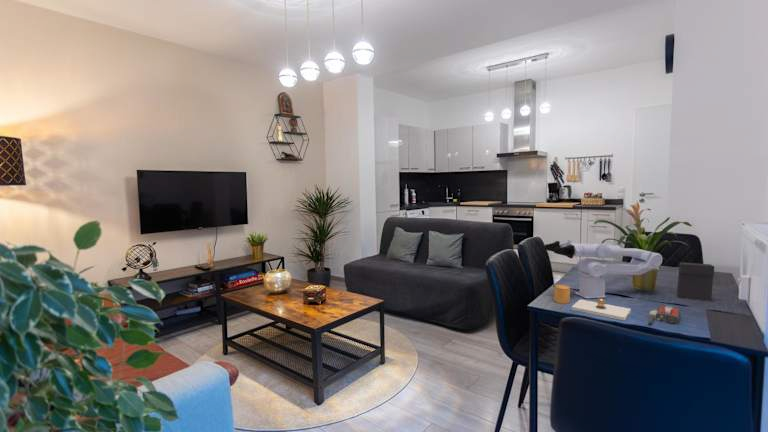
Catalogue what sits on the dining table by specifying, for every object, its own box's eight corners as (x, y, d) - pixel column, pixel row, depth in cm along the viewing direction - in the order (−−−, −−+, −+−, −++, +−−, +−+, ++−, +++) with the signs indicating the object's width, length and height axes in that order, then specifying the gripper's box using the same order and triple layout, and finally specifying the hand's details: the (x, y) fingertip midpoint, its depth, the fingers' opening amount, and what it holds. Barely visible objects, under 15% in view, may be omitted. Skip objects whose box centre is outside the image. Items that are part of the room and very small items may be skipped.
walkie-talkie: (652, 310, 149) (645, 325, 134) (653, 299, 148) (646, 313, 133) (680, 315, 143) (677, 332, 128) (681, 304, 142) (678, 319, 127)
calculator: (708, 298, 161) (710, 264, 160) (711, 301, 157) (714, 266, 156) (676, 295, 166) (678, 261, 164) (679, 298, 162) (681, 263, 160)
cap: (563, 298, 163) (564, 284, 162) (572, 303, 157) (572, 287, 156) (551, 299, 162) (552, 284, 161) (559, 303, 156) (560, 288, 156)
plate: (571, 309, 149) (571, 298, 149) (580, 302, 158) (580, 291, 158) (624, 320, 137) (625, 308, 137) (630, 311, 146) (631, 300, 146)
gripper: (569, 238, 171) (541, 236, 169) (591, 243, 156) (561, 242, 154) (567, 253, 171) (539, 252, 169) (589, 260, 157) (559, 259, 155)
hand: (549, 248), depth 162 cm, fingers open, 7 cm apart
